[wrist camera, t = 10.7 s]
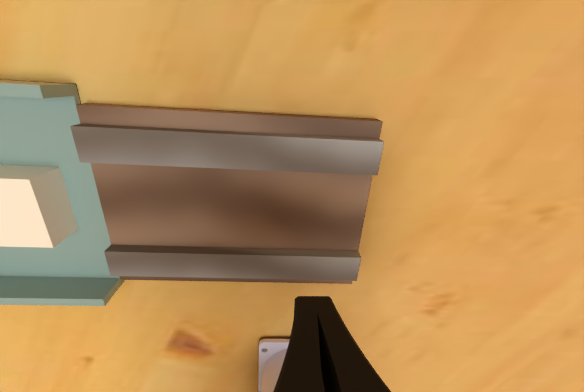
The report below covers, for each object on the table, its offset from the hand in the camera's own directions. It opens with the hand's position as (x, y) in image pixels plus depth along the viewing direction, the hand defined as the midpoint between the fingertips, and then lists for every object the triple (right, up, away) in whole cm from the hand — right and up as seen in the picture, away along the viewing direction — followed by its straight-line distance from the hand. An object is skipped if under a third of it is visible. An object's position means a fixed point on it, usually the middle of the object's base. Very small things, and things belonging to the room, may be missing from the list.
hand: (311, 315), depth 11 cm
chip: (-17, +5, +7) cm, 19 cm away
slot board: (-4, +4, +8) cm, 10 cm away
